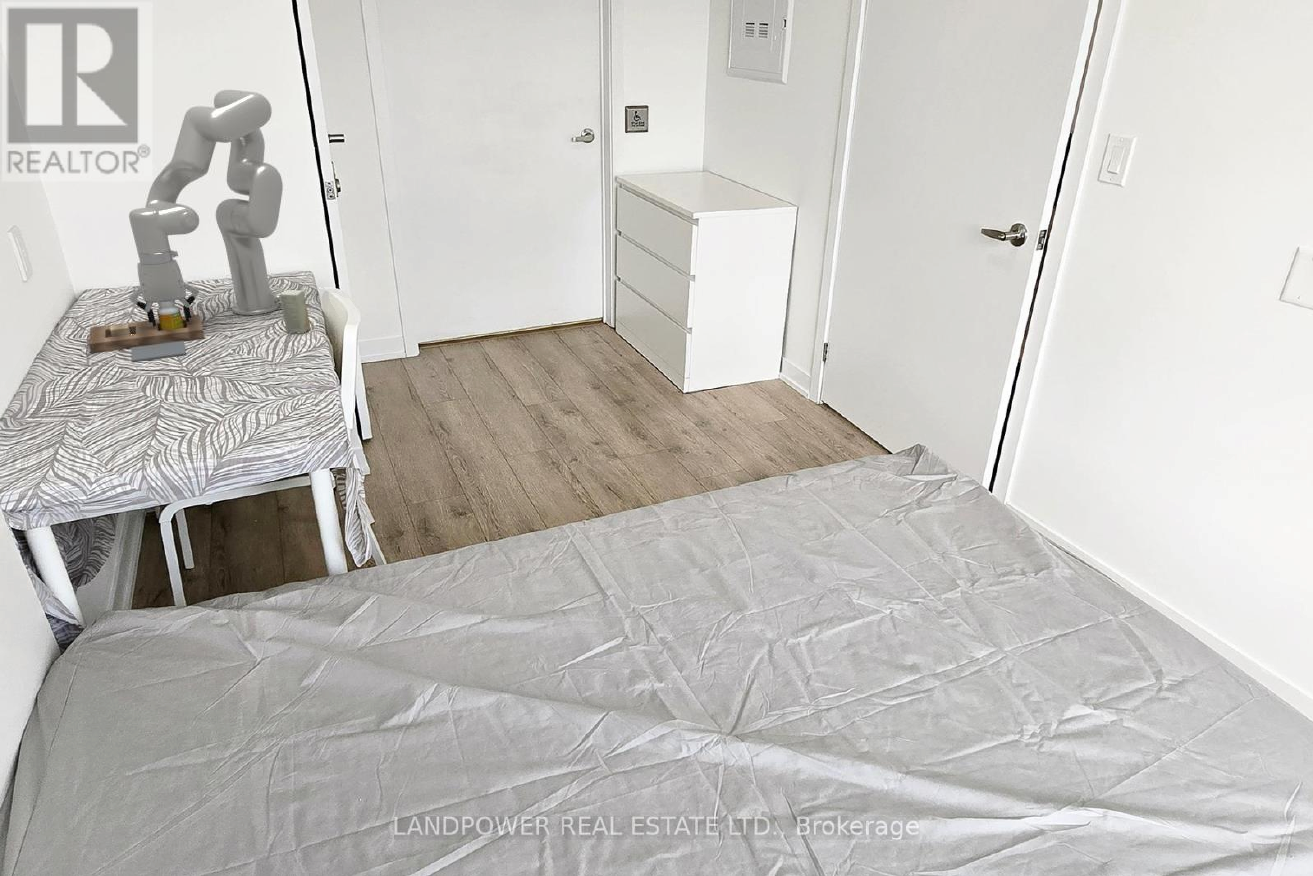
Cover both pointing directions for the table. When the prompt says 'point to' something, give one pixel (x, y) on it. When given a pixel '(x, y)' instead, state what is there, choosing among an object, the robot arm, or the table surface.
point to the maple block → (120, 330)
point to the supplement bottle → (169, 315)
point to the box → (294, 311)
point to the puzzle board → (144, 335)
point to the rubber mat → (158, 351)
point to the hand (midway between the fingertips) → (171, 322)
